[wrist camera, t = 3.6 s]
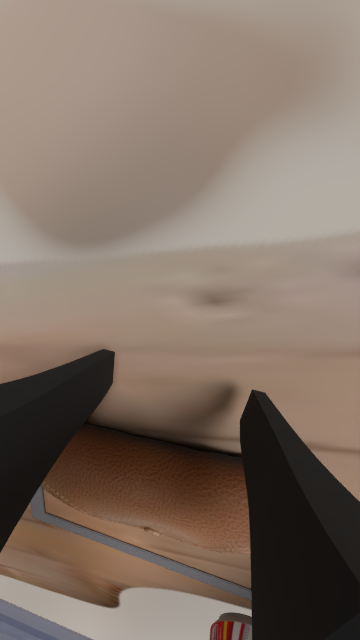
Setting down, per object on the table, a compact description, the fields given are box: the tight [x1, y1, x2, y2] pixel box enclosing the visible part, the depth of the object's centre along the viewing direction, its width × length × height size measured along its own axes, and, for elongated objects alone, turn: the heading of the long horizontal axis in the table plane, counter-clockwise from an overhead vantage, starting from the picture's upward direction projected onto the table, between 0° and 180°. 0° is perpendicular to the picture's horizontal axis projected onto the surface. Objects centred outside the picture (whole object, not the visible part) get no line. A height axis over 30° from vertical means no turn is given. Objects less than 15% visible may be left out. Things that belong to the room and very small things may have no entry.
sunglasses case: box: [41, 423, 251, 553], centre depth 14 cm, size 18×7×7 cm
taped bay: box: [30, 485, 252, 601], centre depth 18 cm, size 24×12×1 cm, turn 80°
